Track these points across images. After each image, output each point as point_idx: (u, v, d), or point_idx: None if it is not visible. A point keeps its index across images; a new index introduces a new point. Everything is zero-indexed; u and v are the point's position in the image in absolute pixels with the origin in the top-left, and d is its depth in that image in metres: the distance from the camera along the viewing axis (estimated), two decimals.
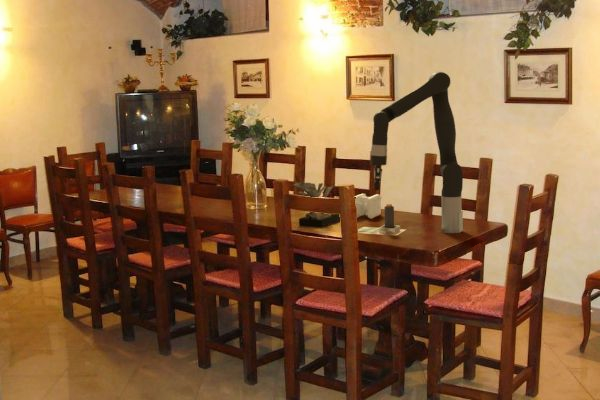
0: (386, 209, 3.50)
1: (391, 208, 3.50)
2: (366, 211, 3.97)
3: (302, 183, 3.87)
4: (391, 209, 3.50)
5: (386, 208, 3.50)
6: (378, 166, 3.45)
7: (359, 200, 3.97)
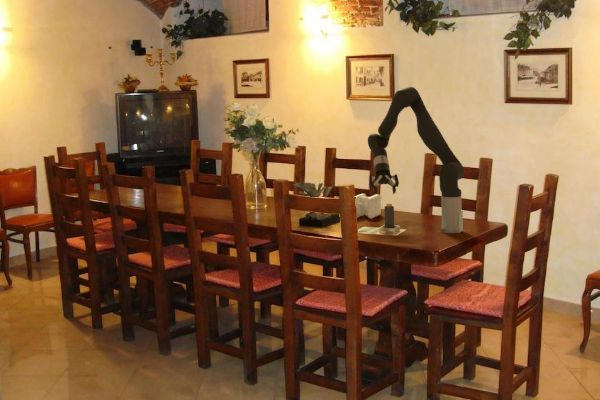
0: (386, 209, 3.50)
1: (391, 208, 3.50)
2: (366, 211, 3.97)
3: (302, 183, 3.87)
4: (391, 209, 3.50)
5: (386, 208, 3.50)
6: (375, 175, 3.68)
7: (359, 200, 3.97)
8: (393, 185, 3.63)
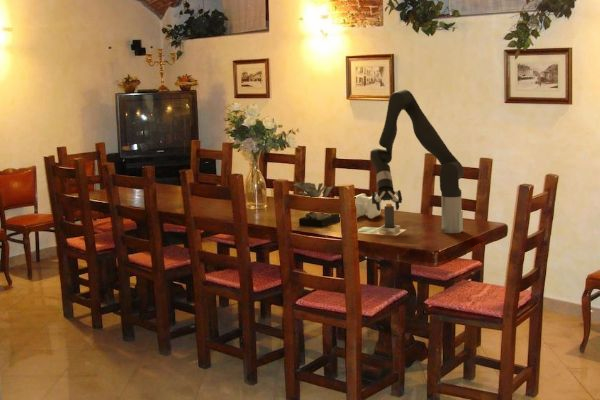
0: (386, 209, 3.50)
1: (391, 208, 3.50)
2: (366, 211, 3.97)
3: (302, 183, 3.87)
4: (391, 209, 3.50)
5: (386, 208, 3.50)
6: (378, 191, 3.61)
7: (359, 200, 3.97)
8: (396, 201, 3.56)
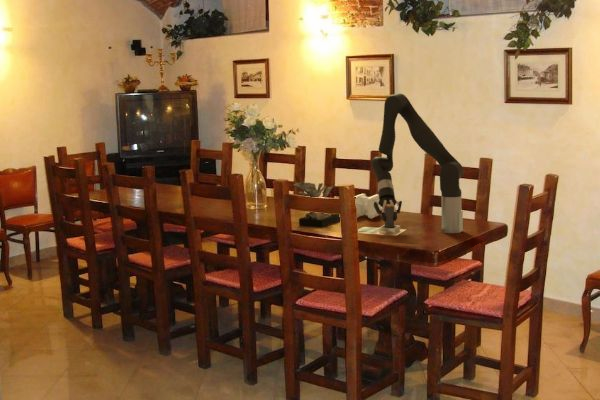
0: (386, 209, 3.50)
1: (391, 208, 3.50)
2: (366, 211, 3.97)
3: (302, 183, 3.87)
4: (391, 209, 3.50)
5: (386, 208, 3.50)
6: (379, 200, 3.57)
7: (359, 200, 3.97)
8: (394, 212, 3.52)
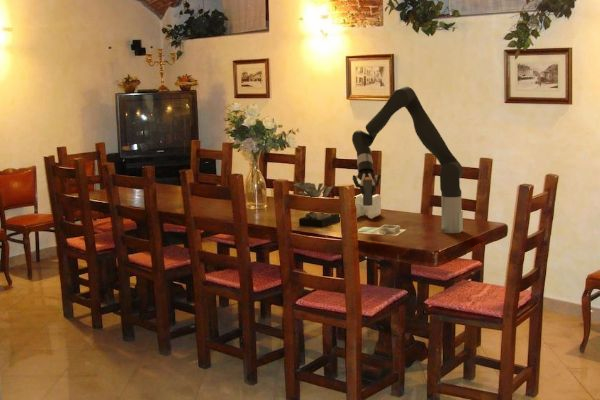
0: (364, 182, 3.53)
1: (369, 181, 3.52)
2: (366, 211, 3.97)
3: (302, 183, 3.87)
4: (369, 182, 3.52)
5: (364, 181, 3.53)
6: (358, 173, 3.60)
7: (359, 200, 3.97)
8: (373, 185, 3.55)
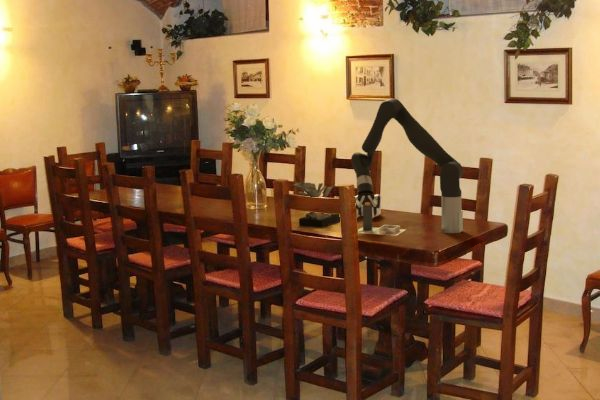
0: (364, 207, 3.55)
1: (369, 206, 3.54)
2: None
3: (302, 183, 3.87)
4: (369, 207, 3.54)
5: (364, 206, 3.55)
6: None
7: None
8: (374, 207, 3.57)
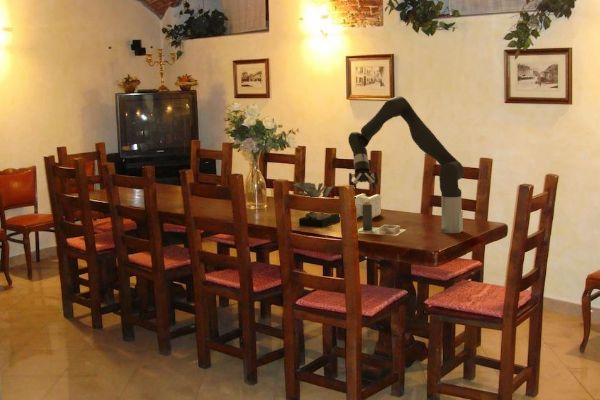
0: (364, 207, 3.55)
1: (369, 206, 3.55)
2: None
3: (302, 183, 3.87)
4: (369, 207, 3.55)
5: (364, 206, 3.55)
6: None
7: (359, 200, 3.97)
8: (372, 183, 3.67)
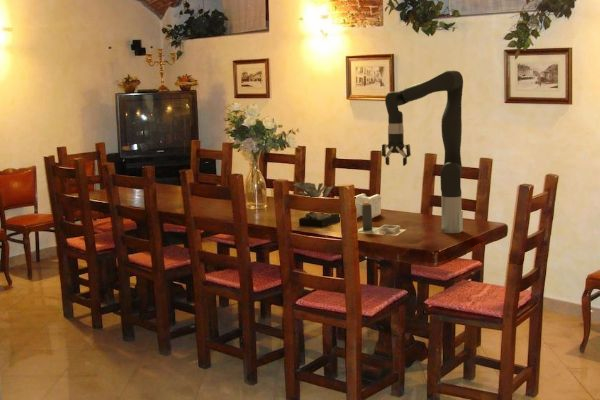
0: (364, 207, 3.55)
1: (369, 206, 3.55)
2: None
3: (302, 183, 3.87)
4: (369, 207, 3.55)
5: (364, 206, 3.55)
6: None
7: (359, 200, 3.97)
8: (403, 158, 3.66)
